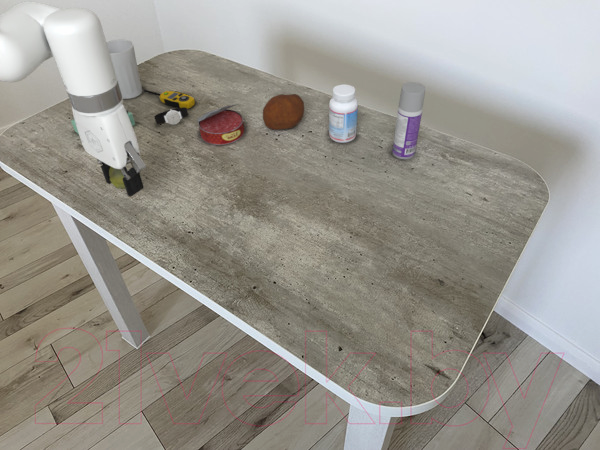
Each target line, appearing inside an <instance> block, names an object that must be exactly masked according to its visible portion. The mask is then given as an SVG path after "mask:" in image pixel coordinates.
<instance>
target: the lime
mask: <svg viewBox="0 0 600 450" xmlns="http://www.w3.org/2000/svg"><path fill="white" fill-rule="evenodd" d="M109 176H110V181H111V185H113V186H114V187H115V188H116V189H122V190H126V189H125V186H124V183H123V180H122V178H124V176H123V174H122V172H121V170H120V169H115V168H113V167H110V170H109Z"/></svg>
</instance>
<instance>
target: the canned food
mask: <svg viewBox="0 0 600 450" xmlns="http://www.w3.org/2000/svg"><path fill="white" fill-rule="evenodd" d="M238 105H239V103H235V104H229V105H226V106H223V107H219V108H217V109H214V110H210V111H208V112H206V113H205V114H202V116H200V117H199V118H197V120H196V122H197V125H198V130H199V134H200V137H201V139H202V141H204V142H205V143H207V144H210V145H214V146H225V145H229V144H233V143H235V142H237V141H239V140H240V139H241V138H242V137H243V136H244V134H245V125H244V117H243V116H242V114H241V113H240V112H238V111H237V110H235V109H234V110H233V109H231V108H233V107H234V106H238Z"/></svg>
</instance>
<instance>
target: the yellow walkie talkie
mask: <svg viewBox="0 0 600 450" xmlns="http://www.w3.org/2000/svg"><path fill="white" fill-rule="evenodd" d="M143 92H144V93H147V94H151V95H155V96H157V97H159V100H160V102H161V103H163V104H165V105H166V106H168V107H171V108H173V109H176V108H187V110H189V109H191V108H192V107H193V106H195V104H196V100H195V97H193V96H191V95H190V94H188V93H185V92H182V91H178V90H175V91H173V90H165V91H164V92H162V93H160V92H159V93H158V92H155V91H152V90H148V89H143Z"/></svg>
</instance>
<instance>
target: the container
mask: <svg viewBox="0 0 600 450" xmlns="http://www.w3.org/2000/svg"><path fill="white" fill-rule="evenodd" d="M425 95H426V86H425V85H424V84H423V83H420V82H416V81H408V82H405V83H403V84H402V85H401V89H400V94H399V100H398V107H397V114H396V122H395V127H394V135H393V142H392V150H391V153H392V155H393V156H394V157H395V158H397V159H399V160H410V159H412V158H414V156H415V155H416V148H417V143H418V137H419V132H420V126H421V121H422V115H423V110H424V109H423V108H424V102H425Z"/></svg>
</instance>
